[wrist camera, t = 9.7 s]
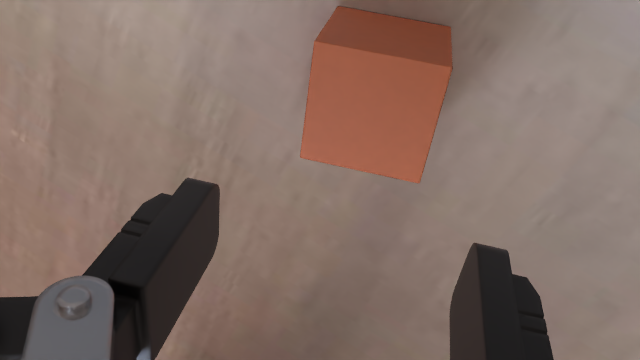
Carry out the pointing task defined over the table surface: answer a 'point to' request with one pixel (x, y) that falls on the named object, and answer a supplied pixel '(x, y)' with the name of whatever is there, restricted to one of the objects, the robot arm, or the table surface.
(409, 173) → the block
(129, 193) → the table surface
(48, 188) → the table surface
